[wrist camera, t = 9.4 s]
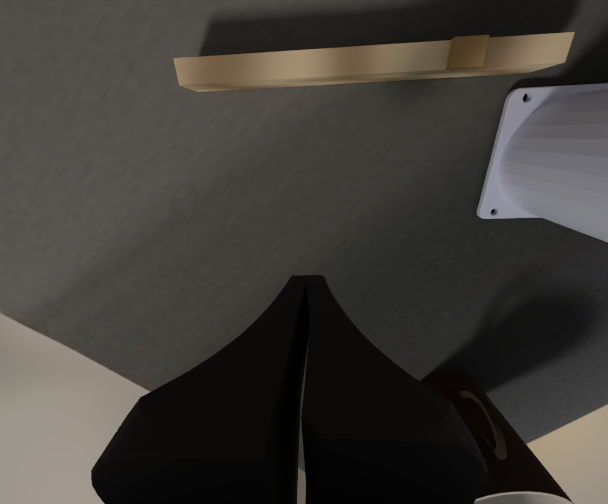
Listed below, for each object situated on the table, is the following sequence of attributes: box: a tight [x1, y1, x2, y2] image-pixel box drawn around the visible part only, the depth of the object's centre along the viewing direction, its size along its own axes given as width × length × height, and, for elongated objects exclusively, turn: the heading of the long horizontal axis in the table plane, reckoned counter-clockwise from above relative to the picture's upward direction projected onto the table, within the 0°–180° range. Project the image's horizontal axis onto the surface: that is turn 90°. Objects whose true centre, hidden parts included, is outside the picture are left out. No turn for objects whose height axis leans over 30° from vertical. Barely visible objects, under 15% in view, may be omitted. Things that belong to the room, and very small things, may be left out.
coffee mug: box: [420, 370, 573, 504], centre depth 22 cm, size 12×9×10 cm
